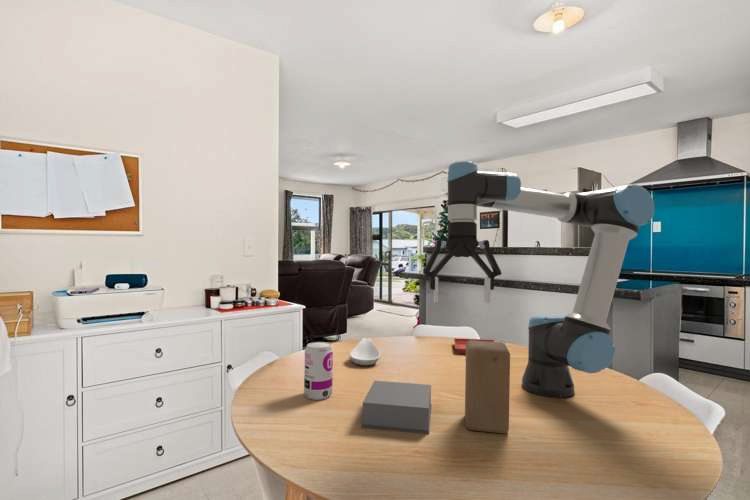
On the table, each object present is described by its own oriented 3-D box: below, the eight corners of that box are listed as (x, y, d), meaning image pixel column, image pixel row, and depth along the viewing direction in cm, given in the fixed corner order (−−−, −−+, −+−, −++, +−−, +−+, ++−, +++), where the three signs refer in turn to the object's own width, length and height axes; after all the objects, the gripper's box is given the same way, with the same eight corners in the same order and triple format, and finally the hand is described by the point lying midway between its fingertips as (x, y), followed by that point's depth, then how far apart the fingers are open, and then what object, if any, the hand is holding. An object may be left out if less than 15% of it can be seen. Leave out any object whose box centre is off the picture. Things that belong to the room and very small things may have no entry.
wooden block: (509, 435, 91) (510, 351, 91) (465, 431, 93) (467, 348, 93) (504, 417, 101) (505, 341, 101) (464, 413, 103) (465, 339, 103)
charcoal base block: (431, 406, 108) (431, 384, 108) (429, 433, 91) (429, 408, 91) (373, 401, 110) (373, 380, 110) (361, 427, 94) (361, 402, 94)
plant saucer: (455, 355, 161) (455, 347, 161) (453, 344, 179) (453, 337, 179) (500, 358, 158) (500, 350, 158) (493, 347, 176) (494, 339, 176)
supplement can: (337, 393, 116) (338, 343, 116) (322, 402, 109) (323, 349, 109) (314, 388, 120) (315, 340, 120) (298, 397, 112) (299, 346, 112)
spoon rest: (380, 369, 141) (380, 349, 141) (348, 368, 141) (348, 349, 141) (379, 351, 165) (380, 334, 165) (352, 351, 165) (352, 334, 165)
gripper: (504, 222, 106) (503, 300, 106) (413, 222, 106) (412, 300, 106) (514, 221, 98) (513, 304, 98) (416, 220, 98) (415, 304, 98)
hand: (461, 302), depth 102 cm, fingers open, 13 cm apart
